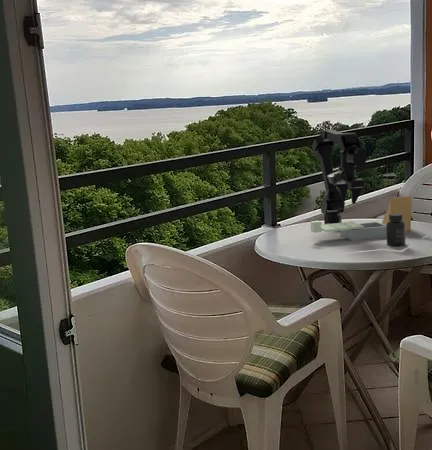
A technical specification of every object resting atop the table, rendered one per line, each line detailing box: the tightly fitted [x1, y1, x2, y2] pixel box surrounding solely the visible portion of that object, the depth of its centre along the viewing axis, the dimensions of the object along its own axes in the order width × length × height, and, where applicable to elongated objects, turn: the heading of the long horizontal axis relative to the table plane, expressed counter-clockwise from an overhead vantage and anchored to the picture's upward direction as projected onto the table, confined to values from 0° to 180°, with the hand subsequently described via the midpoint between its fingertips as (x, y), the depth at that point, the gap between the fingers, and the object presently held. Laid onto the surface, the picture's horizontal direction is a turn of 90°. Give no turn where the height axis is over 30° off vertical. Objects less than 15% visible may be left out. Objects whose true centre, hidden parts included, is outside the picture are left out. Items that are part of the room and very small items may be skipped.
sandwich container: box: [381, 196, 412, 232], centre depth 268 cm, size 9×15×15 cm, turn 2°
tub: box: [340, 221, 387, 242], centre depth 256 cm, size 16×10×5 cm, turn 105°
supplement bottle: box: [386, 214, 406, 248], centre depth 239 cm, size 7×7×12 cm
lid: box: [310, 220, 364, 234], centre depth 253 cm, size 19×10×4 cm, turn 105°
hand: (348, 202), depth 263 cm, fingers open, 9 cm apart
